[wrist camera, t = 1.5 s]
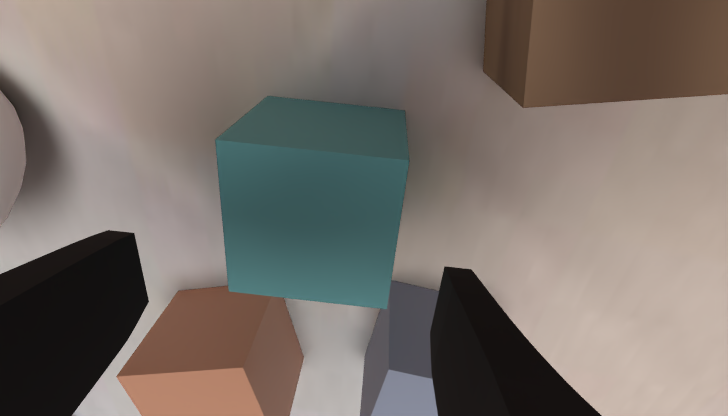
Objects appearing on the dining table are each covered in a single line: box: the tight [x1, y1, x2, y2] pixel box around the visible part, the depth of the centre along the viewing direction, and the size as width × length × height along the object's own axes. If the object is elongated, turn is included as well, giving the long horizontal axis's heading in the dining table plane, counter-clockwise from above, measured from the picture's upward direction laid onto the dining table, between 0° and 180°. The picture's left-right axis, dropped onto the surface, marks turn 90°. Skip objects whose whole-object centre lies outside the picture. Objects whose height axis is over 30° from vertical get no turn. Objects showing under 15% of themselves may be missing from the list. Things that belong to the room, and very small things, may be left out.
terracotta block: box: [116, 286, 304, 416], centre depth 18 cm, size 5×5×5 cm
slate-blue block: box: [360, 280, 439, 416], centre depth 17 cm, size 5×5×5 cm
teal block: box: [215, 96, 409, 309], centre depth 14 cm, size 5×5×5 cm
